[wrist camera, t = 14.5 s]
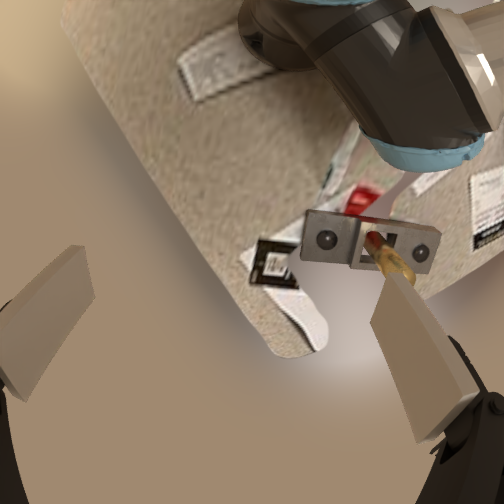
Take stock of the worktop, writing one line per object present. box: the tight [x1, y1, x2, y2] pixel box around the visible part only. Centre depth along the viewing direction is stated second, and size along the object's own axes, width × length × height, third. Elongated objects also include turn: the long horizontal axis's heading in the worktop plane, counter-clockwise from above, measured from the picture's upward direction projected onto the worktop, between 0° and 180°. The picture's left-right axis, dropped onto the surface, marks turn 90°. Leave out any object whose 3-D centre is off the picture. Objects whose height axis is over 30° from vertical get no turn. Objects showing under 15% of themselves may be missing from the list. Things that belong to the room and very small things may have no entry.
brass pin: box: [364, 231, 416, 286], centre depth 39 cm, size 4×4×13 cm
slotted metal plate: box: [300, 209, 442, 274], centre depth 43 cm, size 8×24×4 cm, turn 85°
